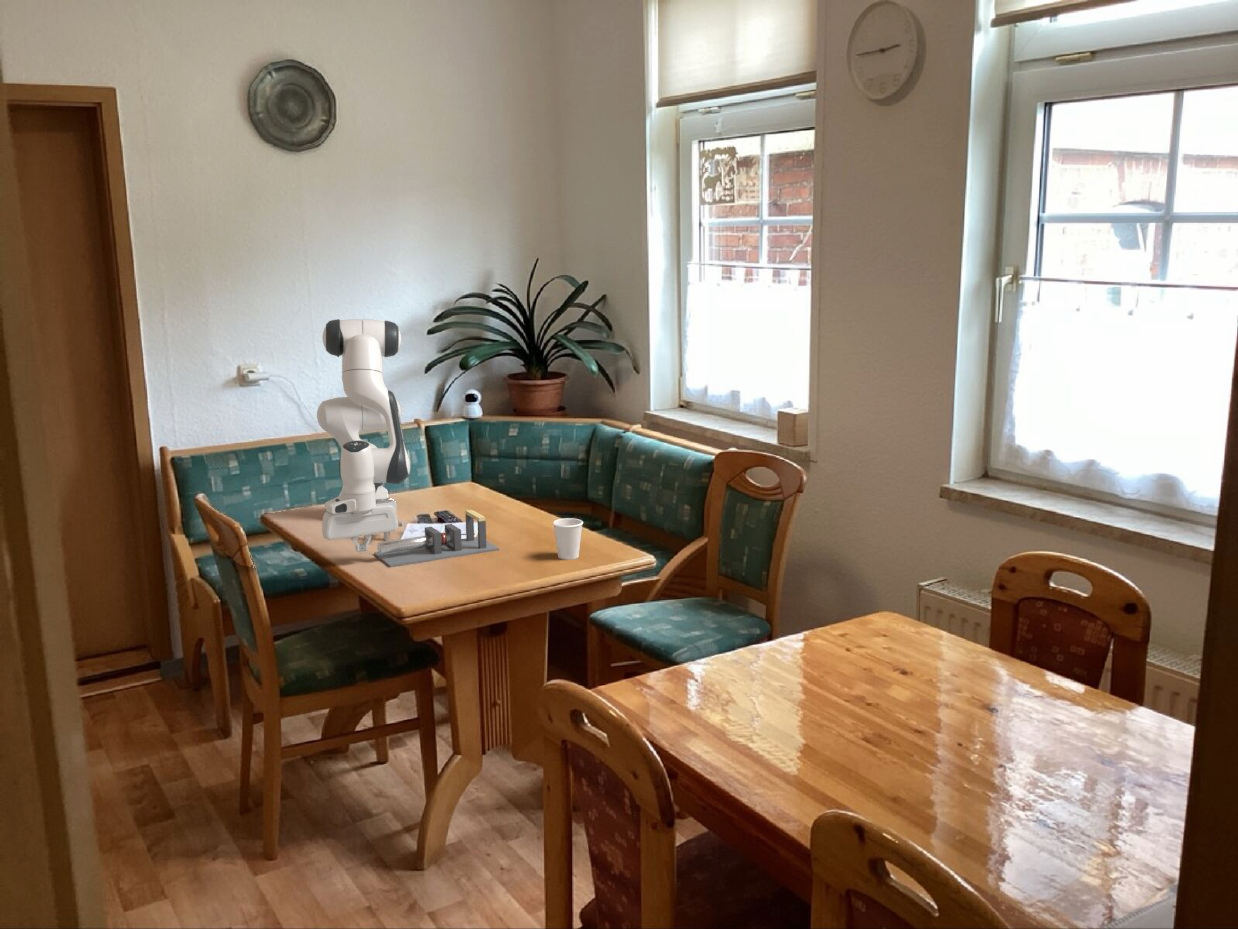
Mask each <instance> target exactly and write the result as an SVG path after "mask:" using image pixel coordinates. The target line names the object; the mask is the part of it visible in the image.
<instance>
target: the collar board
mask: <svg viewBox="0 0 1238 929" xmlns="http://www.w3.org/2000/svg"><path fill="white" fill-rule="evenodd" d="M464 513H465V514H464V515H465V537H466V538H462V529H461V528H459V527H457V526H455V525H454V524H452V523H448V524H444V533H449V535H450V543H449V544H446V545H441V533H442V532H440V531H439V530H437V529H435V527H432V526H426V527H425V526H424V536H427V535H433V546H431V547H424V548H418V549H411V550H404V551H398V552H391V553H385V554H379V551H375V552H373V555H375V557H377V558H378V559H379V560H380V561H382V562H383V563H384V564H385V565H386V566H387V567H389V568H394V567H400V566H404V565H407V566H408V565H413V564H418V563H423V562H431V561H438V560H444V559H450V558H456V557H463V556H469V555H476V554H481V553H487V552H488V553H489V552H494V551H499V550H500V547H498V546H497V545H495V544H493V543H492V542H490V541H488V540H487V523H486V521H487V520H486V516H484V515H482V514H480V513H479V512H477V511H475V510H473V509H466V510H465V512H464ZM474 520H476V522H477V536H475V522H474Z"/></svg>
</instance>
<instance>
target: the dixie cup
mask: <svg viewBox="0 0 1238 929" xmlns="http://www.w3.org/2000/svg"><path fill="white" fill-rule="evenodd" d="M552 524H553V529H554V535H555V542H556V550H557V557H558V559H561V560H567V561H570V560H575V559H578V558H579V556H580V548H581V547H580V546H581V538H582V529H583V524H584V521H583V520H582V519H578V518H571V517H570V518H569V517H567V518H559V519H555V520H554V521H552Z"/></svg>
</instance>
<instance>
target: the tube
mask: <svg viewBox="0 0 1238 929" xmlns="http://www.w3.org/2000/svg"><path fill="white" fill-rule="evenodd" d="M449 543H450V535H449V533H445V532H441V545H446V544H449ZM431 546H433V535H427V536H425V535H421V536H415V537H408V538H402V539H395V540H394V539H393V540H385V541H381V542H378V543H377V552H379V554H385V553H391V552H398V551H404V550H411V549H418V548H424V547H431Z"/></svg>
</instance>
